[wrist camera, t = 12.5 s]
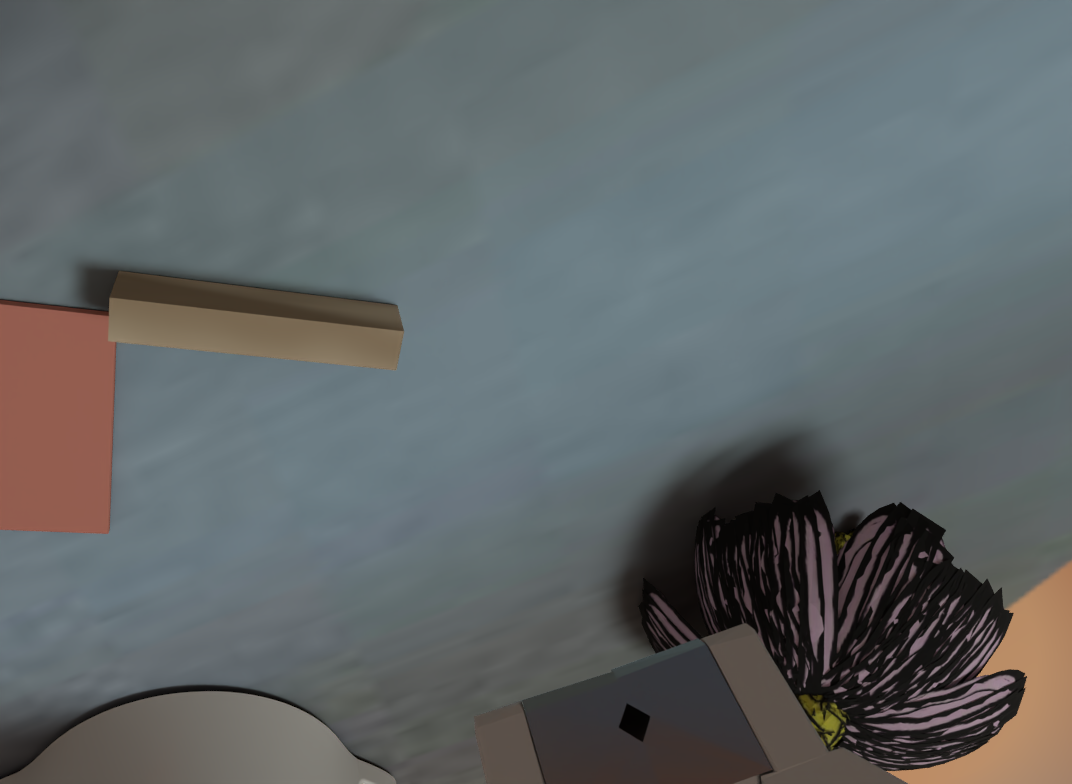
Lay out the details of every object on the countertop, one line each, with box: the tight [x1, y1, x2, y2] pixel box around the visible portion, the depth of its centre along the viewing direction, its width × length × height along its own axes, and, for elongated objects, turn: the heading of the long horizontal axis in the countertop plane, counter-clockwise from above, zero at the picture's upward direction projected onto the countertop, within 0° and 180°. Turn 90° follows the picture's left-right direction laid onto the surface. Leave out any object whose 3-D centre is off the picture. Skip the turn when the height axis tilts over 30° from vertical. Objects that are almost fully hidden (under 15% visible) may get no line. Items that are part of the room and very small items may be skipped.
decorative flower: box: [638, 490, 1027, 771], centre depth 40 cm, size 14×12×15 cm
